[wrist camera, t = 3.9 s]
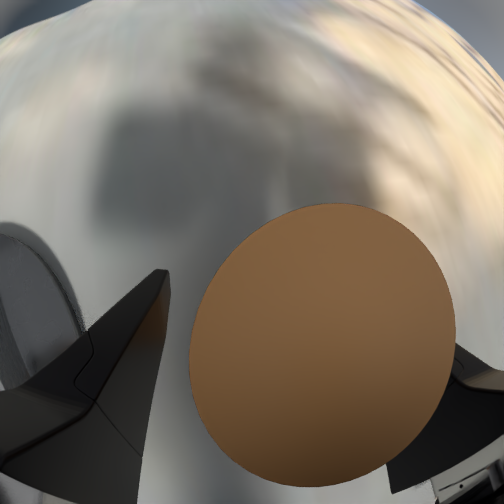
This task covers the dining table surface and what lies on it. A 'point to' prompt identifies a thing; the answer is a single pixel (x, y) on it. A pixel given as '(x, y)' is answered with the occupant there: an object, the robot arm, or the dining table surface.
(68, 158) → the dining table surface
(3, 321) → the rosette plate
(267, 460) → the pin
